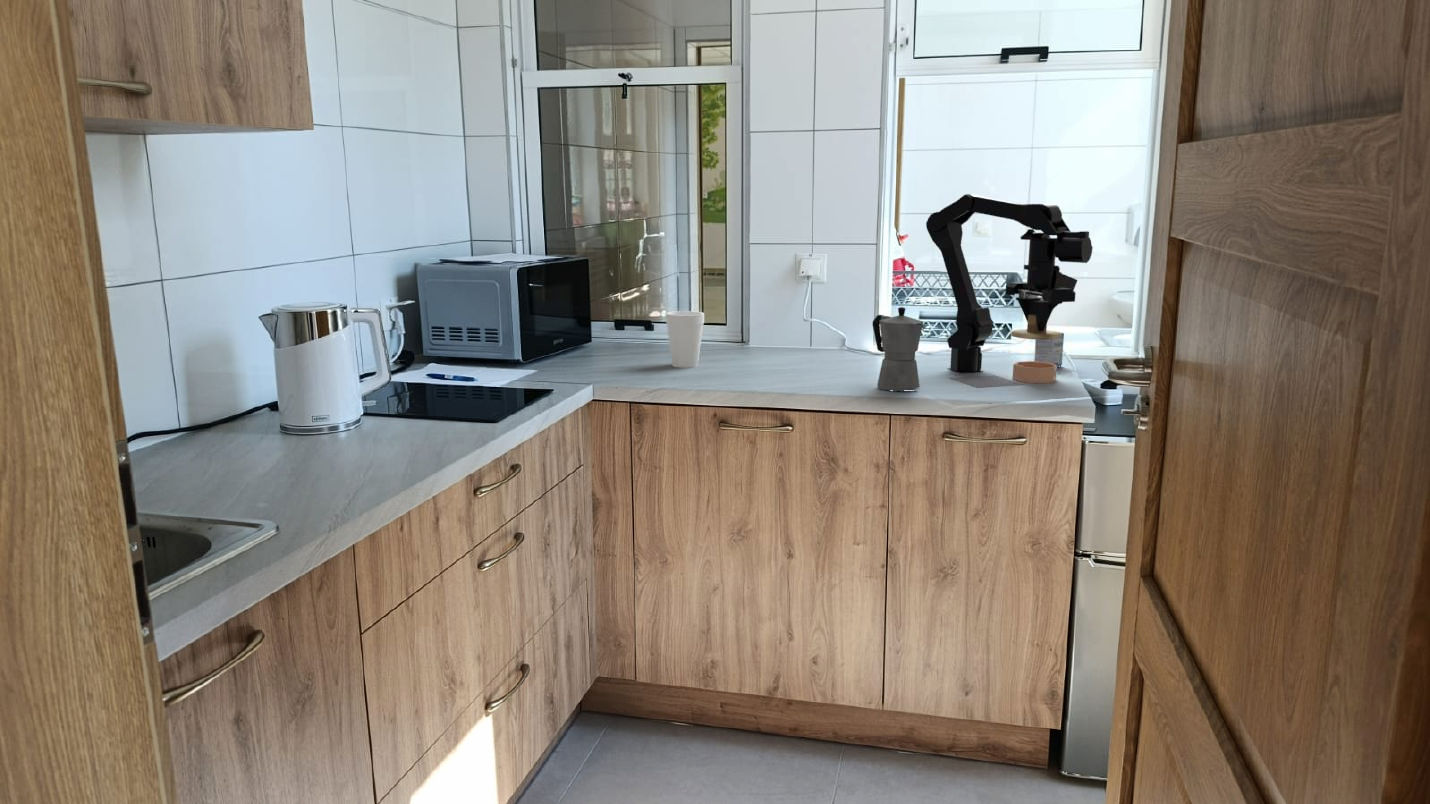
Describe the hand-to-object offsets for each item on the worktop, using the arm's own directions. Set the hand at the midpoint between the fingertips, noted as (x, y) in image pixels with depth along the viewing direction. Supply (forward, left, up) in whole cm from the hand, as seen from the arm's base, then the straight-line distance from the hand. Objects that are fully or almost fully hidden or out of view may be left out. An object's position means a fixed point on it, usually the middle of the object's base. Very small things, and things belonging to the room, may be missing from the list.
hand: (1036, 330), depth 231 cm
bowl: (0, 0, -12) cm, 12 cm away
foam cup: (-71, +43, -12) cm, 84 cm away
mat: (-12, +1, -12) cm, 17 cm away
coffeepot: (-34, +3, -12) cm, 36 cm away
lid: (0, 0, -1) cm, 1 cm away
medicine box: (+15, +15, -12) cm, 24 cm away
